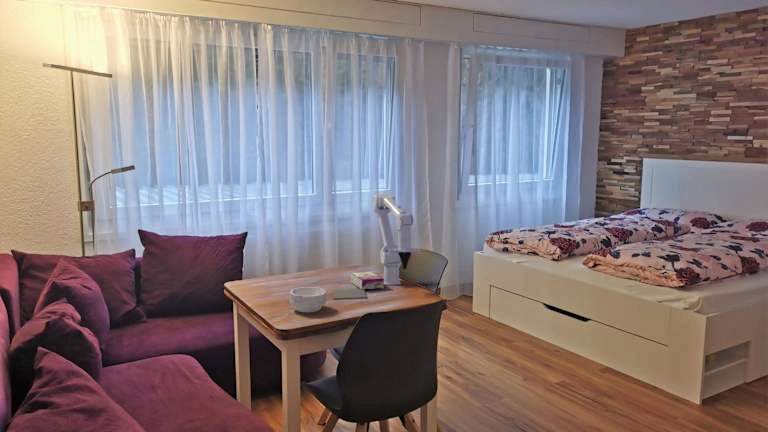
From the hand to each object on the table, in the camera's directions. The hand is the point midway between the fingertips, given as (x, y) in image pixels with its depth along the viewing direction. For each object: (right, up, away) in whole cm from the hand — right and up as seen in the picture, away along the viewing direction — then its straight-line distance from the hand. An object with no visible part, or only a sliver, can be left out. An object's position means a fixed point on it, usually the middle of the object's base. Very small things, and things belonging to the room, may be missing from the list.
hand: (404, 268), depth 274 cm
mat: (-25, -11, -5) cm, 28 cm away
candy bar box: (-15, -8, +1) cm, 16 cm away
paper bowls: (-41, -15, -27) cm, 51 cm away
